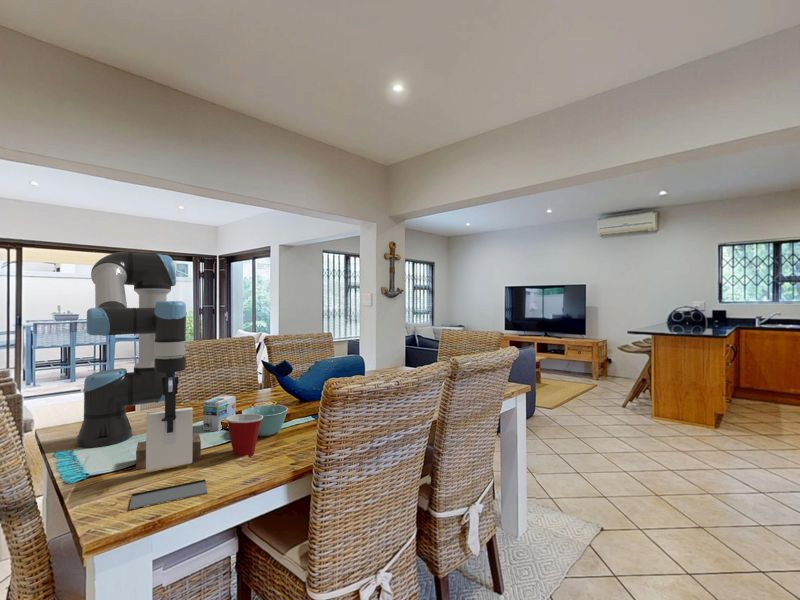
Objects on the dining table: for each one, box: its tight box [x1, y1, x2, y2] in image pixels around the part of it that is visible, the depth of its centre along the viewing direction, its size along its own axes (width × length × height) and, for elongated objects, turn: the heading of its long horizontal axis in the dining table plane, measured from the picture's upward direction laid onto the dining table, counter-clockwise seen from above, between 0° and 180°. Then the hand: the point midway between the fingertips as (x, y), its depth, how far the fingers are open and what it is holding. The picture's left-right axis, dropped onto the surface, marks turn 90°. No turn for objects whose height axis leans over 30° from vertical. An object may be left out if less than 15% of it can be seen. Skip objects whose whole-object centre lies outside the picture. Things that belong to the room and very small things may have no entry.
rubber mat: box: [129, 479, 208, 511], centre depth 103 cm, size 16×20×1 cm
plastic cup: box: [226, 413, 263, 458], centre depth 123 cm, size 11×11×12 cm
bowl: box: [241, 404, 289, 437], centre depth 144 cm, size 16×16×8 cm
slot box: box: [135, 432, 202, 471], centre depth 117 cm, size 16×8×6 cm, turn 120°
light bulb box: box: [202, 394, 237, 432], centre depth 150 cm, size 11×7×11 cm, turn 168°
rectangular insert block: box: [145, 406, 194, 472], centre depth 110 cm, size 11×2×15 cm, turn 120°
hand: (169, 441), depth 110 cm, fingers closed on rectangular insert block, 2 cm apart
